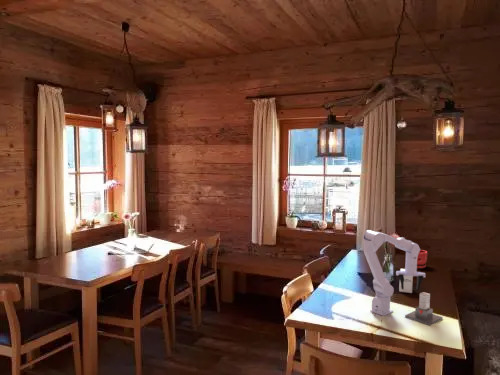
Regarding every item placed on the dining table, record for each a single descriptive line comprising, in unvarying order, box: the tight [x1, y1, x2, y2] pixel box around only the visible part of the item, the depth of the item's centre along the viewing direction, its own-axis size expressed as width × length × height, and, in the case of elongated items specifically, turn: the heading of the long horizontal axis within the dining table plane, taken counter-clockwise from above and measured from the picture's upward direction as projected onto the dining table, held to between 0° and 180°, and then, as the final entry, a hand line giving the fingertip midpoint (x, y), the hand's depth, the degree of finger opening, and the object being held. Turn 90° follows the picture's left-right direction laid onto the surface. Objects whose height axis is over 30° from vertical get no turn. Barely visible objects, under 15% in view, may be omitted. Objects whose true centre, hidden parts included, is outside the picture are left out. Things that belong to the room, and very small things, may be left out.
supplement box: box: [398, 268, 414, 294], centre depth 251 cm, size 7×7×13 cm
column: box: [418, 291, 431, 311], centre depth 209 cm, size 4×4×9 cm
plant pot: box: [417, 249, 428, 269], centre depth 303 cm, size 13×13×12 cm
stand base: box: [404, 306, 443, 327], centre depth 210 cm, size 13×13×5 cm
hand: (409, 289), depth 223 cm, fingers open, 7 cm apart
